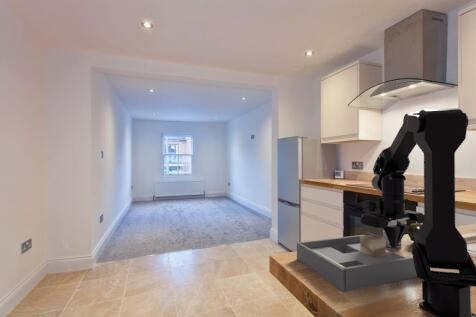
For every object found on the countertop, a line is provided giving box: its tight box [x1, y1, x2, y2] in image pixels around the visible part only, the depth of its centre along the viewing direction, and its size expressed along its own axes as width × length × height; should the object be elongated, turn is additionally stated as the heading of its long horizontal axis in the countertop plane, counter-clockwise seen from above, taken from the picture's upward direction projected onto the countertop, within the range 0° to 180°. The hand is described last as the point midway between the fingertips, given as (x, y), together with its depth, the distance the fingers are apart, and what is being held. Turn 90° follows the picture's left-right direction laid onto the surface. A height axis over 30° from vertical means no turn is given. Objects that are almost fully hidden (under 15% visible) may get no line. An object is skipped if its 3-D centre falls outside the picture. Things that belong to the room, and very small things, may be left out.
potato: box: [406, 222, 423, 242], centre depth 85 cm, size 8×13×8 cm, turn 114°
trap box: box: [296, 234, 418, 293], centre depth 68 cm, size 20×25×5 cm
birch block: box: [360, 234, 387, 257], centre depth 70 cm, size 4×4×4 cm
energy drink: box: [382, 218, 402, 249], centre depth 85 cm, size 5×5×12 cm
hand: (393, 247), depth 72 cm, fingers closed
